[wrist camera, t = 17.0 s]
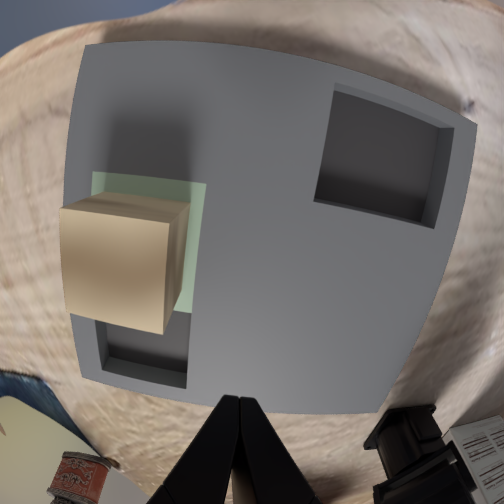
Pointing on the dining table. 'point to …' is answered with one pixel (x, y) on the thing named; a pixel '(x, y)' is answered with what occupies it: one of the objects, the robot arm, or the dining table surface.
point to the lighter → (79, 479)
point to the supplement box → (482, 456)
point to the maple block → (123, 258)
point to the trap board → (271, 219)
